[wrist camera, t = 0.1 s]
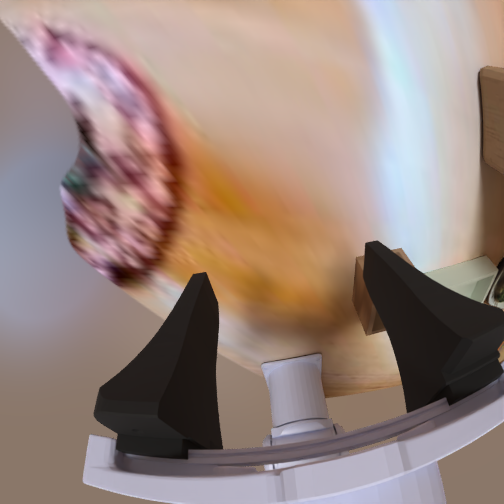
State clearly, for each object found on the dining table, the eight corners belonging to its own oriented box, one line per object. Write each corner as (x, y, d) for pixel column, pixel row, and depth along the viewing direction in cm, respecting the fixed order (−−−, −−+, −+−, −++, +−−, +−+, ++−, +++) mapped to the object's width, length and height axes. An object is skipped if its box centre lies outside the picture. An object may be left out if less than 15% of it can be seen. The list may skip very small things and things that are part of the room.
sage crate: (466, 303, 32) (475, 317, 29) (395, 327, 33) (403, 345, 30) (486, 255, 26) (498, 269, 24) (409, 277, 27) (421, 296, 25)
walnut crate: (392, 290, 28) (410, 323, 24) (351, 299, 29) (366, 335, 25) (400, 247, 25) (424, 280, 21) (355, 256, 25) (374, 293, 21)
